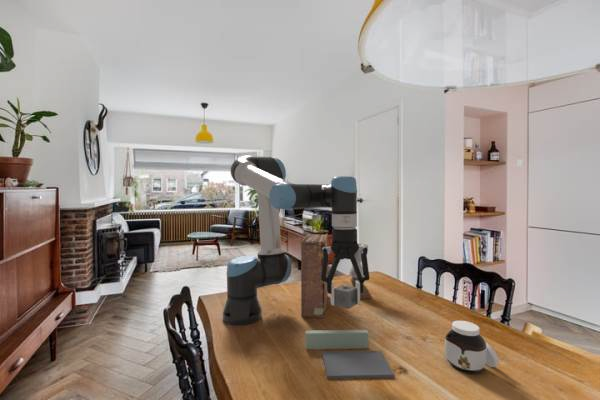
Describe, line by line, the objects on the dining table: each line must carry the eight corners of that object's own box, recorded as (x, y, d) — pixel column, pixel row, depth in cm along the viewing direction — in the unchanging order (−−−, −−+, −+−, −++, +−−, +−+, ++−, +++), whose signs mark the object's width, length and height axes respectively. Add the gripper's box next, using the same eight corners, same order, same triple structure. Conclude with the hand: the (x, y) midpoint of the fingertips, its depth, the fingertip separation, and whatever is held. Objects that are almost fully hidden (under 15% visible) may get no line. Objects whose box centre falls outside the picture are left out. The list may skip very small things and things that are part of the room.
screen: (305, 349, 94) (305, 333, 94) (305, 345, 96) (305, 330, 96) (368, 348, 95) (368, 332, 94) (367, 344, 97) (367, 329, 96)
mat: (327, 378, 79) (327, 375, 79) (322, 354, 91) (322, 351, 91) (394, 377, 80) (394, 374, 80) (380, 353, 92) (380, 350, 92)
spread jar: (440, 362, 87) (441, 323, 86) (458, 350, 94) (459, 313, 93) (486, 383, 77) (487, 339, 77) (502, 367, 84) (503, 327, 84)
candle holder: (371, 298, 138) (371, 247, 138) (347, 298, 138) (347, 247, 138) (366, 290, 149) (366, 243, 148) (344, 290, 149) (344, 243, 149)
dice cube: (356, 304, 90) (356, 287, 90) (348, 309, 86) (348, 292, 86) (342, 300, 93) (342, 284, 93) (333, 305, 89) (333, 288, 89)
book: (308, 295, 143) (308, 232, 143) (327, 295, 142) (327, 233, 141) (301, 317, 118) (301, 241, 117) (324, 318, 117) (324, 242, 116)
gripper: (312, 229, 86) (313, 309, 86) (380, 228, 86) (381, 307, 87) (310, 227, 93) (311, 300, 94) (373, 226, 94) (374, 298, 94)
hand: (345, 303), depth 90 cm, fingers closed on dice cube, 7 cm apart
